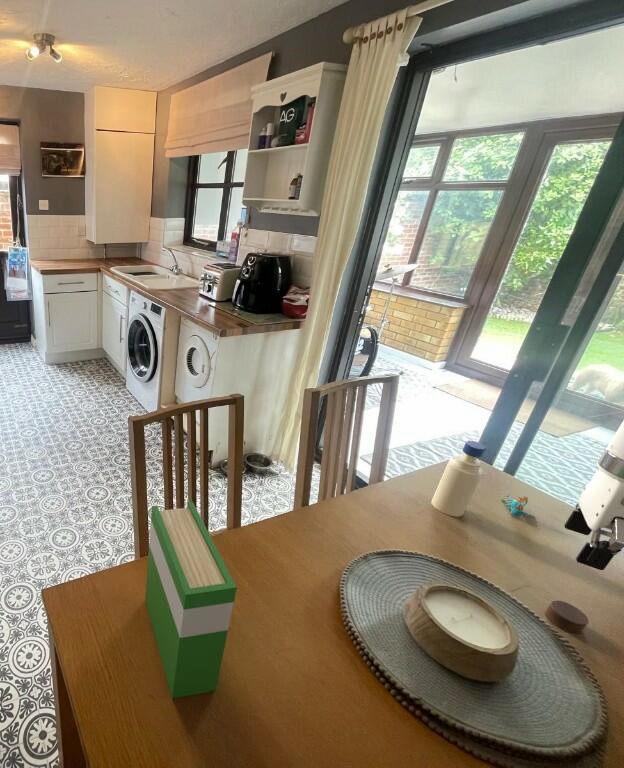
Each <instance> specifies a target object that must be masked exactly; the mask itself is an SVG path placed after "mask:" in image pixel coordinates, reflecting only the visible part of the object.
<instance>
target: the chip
mask: <svg viewBox="0 0 624 768" xmlns="http://www.w3.org/2000/svg"><path fill="white" fill-rule="evenodd" d="M544 614H545V617H546V618H547V619H548V621H550V623H552V624H553V625H554V626H556V627H557V628H559V629H561V630H563V631H565V632H567V633H570V634H575V635H578V634H581V633H582V632H583V631H584V630H585V628H586V626H587V625H588V624H589V618H588V616H587V615H586V614H585V613H584V612H583V611H582V610H581V609H579V608H578V607H576V606H575V605H572V604H571V603H569V602H566V601H563V600H558V599H554V600H552V601H551V602H550V604H549V605H548V607H546V609H545V610H544Z"/></svg>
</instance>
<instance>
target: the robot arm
mask: <svg viewBox="0 0 624 768" xmlns="http://www.w3.org/2000/svg"><path fill="white" fill-rule="evenodd" d="M595 464H596V467H597V470H596V472H595V473H594V475H592V477H591V479H590V480H589V481H588V482H587V484H586V485H585V488H584V489H583V491H582V493H581V495H580V496H579V499H578V502H577V503H576V504H575V507H574V509H573V510H572V512H571V514H570V515H569V517H568V518H567V520H566V522H565V523H564V528H565V529H566V530H568V531H572V532H575V533H578V534H581V535H584V536H589V535H590V534H591V533H592V534H591V539H590V542H585V544H584V545H583V546H582V548H581V550H580V552H579V553H578V554H577V556H576V557H575V560H576V562H577V563H579V564H581V565H584V566H588V567H590V568H592V569H595V570H599V571H605V569H606V568H607V566H608V565H609V564H610V562H611V561H612V559H613V558H614V556H617V555H618V554H619V553H620V552H622V549H624V420H623V421H622V422H621V423H620V426H618V428H617V430H616V432H615V433H614V435H613V437H612V438H611V440H610V442H609V444H607V446H606V448H605V450H604V451H603V453H602V454H601V456H600V457H599V459H598V461H597V462H596V463H595ZM605 529H606V530H605ZM607 530H610V531H607ZM601 536H603V537H607V538H609V539H608V540H605V539H604V540H601Z"/></svg>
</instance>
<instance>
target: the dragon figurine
mask: <svg viewBox="0 0 624 768" xmlns="http://www.w3.org/2000/svg"><path fill="white" fill-rule="evenodd" d="M506 497H507V498H509V497H510V494H509V493H507V495H506ZM518 498H519V500H517V499H513V498H509V499H506V500H507V503H506V504H505V506H506V507H508V508H509V509H511V511H510V512H509V513H510V515H511V516H513V517H521V516H522V517H523V516H525V517H526V516H527V517H530V518H533V519H535V518H536V517H535V516H534V515H533V514H530V513H528V512H525V511H524V506H526V505H527V504H528V496H523V498H522V497H520V496H518Z"/></svg>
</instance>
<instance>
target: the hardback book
mask: <svg viewBox="0 0 624 768" xmlns="http://www.w3.org/2000/svg"><path fill="white" fill-rule="evenodd" d="M149 526H150V529H149V542H148V554H147V555H148V556H147V570H146V583H145V597H144V602H145V606H146V609H147V612H148V616H149V620H150V623H151V628H152V630H153V635H154V638H155V642H156V645H157V649H158V652H159V656H160V660H161V664H162V667H163V671H164V674H165V679H166V682H167V686H168V690H169V693H170V696H171V699H172V700H173V699H179V698H184V697H189V696H194V695H200V694H205V693H209V692H215V691H216V690H217V686H218V683H219V682H218V681H219V676H220V671H221V666H222V663H223V656H224V652H225V648H226V643H227V638H228V633H229V629H230V628H229V627H230V624H231V618H232V614H233V609H234V604H235V599H236V594H237V589H238V587H237V584H236V582H235V581H234V578H233V577H232V575H231V572H229V569H228V567H227V565H226V564H225V561H224V559H223V557H222V555H221V553H220V551H219V550H218V548H217V545H216V543H215V542H214V539H213V538H212V536H211V534H210V532H209V530H208V529H207V526H206V525H205V522H204V521H203V518H202V517H201V515H200V513H199V511H198V509H197V507H196V505H195V503H194V501H187V503H186V507H181V508H171V509H162V510H160V509H159V506H158V505H152V506H151V515H150V525H149Z"/></svg>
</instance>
